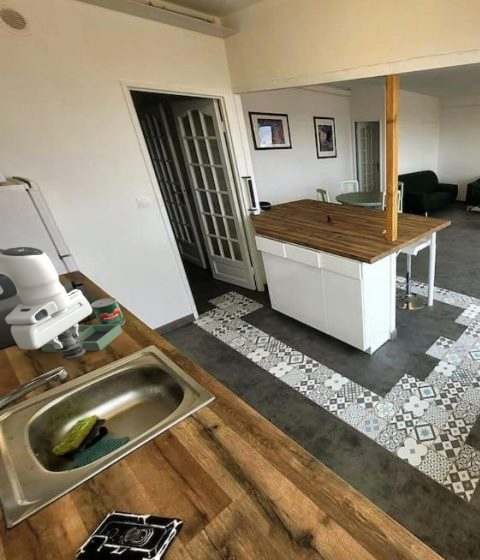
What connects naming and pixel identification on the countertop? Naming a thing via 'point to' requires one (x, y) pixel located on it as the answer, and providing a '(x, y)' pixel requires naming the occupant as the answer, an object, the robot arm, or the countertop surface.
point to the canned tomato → (108, 311)
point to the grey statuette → (70, 346)
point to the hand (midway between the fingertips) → (67, 342)
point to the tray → (92, 337)
